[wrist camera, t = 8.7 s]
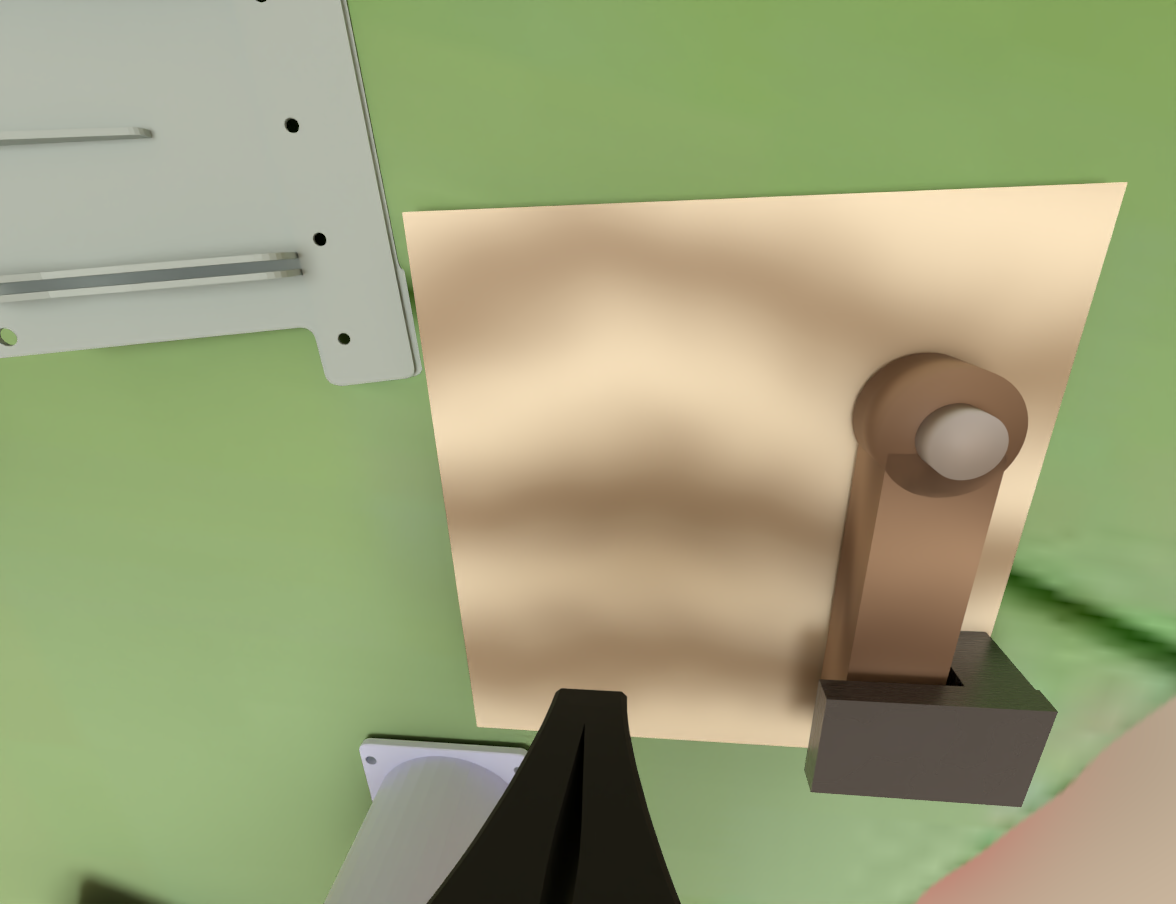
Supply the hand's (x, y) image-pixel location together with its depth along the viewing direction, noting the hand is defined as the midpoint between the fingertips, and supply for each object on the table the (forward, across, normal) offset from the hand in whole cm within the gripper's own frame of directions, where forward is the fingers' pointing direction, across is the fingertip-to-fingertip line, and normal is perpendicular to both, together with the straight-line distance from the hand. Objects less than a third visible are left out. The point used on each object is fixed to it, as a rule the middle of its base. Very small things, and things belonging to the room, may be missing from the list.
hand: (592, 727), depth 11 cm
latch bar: (+8, -9, +1) cm, 12 cm away
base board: (+9, -4, 0) cm, 10 cm away
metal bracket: (+10, +13, -12) cm, 21 cm away
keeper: (+8, -10, +6) cm, 14 cm away
